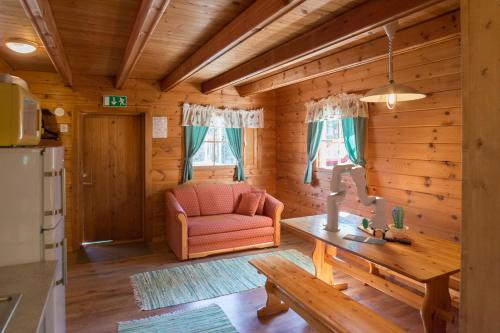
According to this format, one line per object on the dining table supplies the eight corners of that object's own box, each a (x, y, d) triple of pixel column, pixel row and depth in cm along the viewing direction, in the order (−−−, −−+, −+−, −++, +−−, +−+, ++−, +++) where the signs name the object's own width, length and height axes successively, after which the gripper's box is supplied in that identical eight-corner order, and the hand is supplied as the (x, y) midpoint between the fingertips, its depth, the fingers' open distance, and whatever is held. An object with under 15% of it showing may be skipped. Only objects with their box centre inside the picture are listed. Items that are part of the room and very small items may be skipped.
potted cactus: (384, 233, 280) (385, 204, 278) (403, 233, 280) (404, 204, 278) (392, 239, 264) (393, 208, 262) (412, 239, 265) (413, 208, 262)
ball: (373, 237, 255) (374, 230, 255) (375, 235, 260) (376, 228, 260) (382, 239, 252) (382, 231, 251) (384, 237, 257) (384, 229, 256)
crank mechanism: (379, 235, 275) (380, 212, 273) (372, 236, 273) (373, 212, 272) (363, 227, 299) (363, 206, 297) (356, 227, 298) (357, 206, 296)
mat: (342, 238, 266) (342, 237, 266) (347, 234, 277) (347, 233, 276) (382, 245, 249) (382, 244, 249) (386, 241, 260) (386, 240, 260)
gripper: (367, 213, 256) (366, 236, 258) (390, 216, 247) (390, 240, 248) (369, 211, 262) (368, 233, 264) (393, 214, 253) (392, 237, 255)
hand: (379, 236), depth 256 cm, fingers closed on ball, 5 cm apart
